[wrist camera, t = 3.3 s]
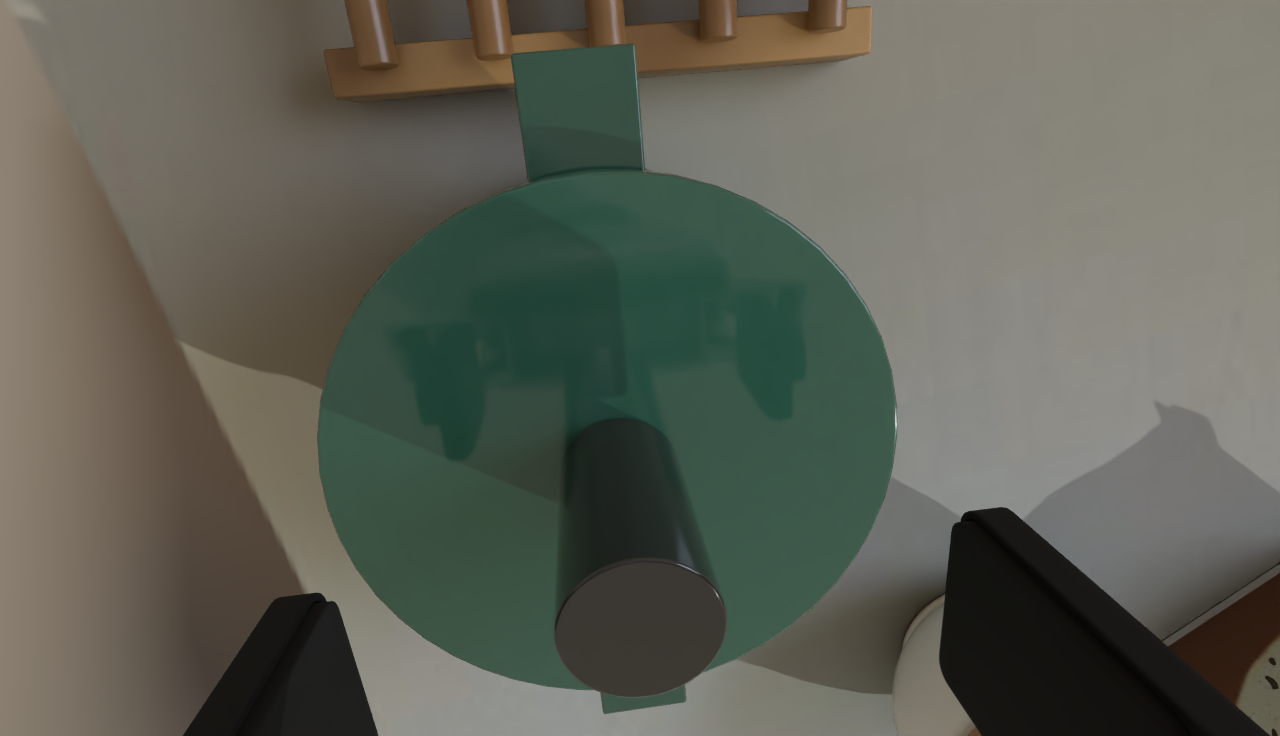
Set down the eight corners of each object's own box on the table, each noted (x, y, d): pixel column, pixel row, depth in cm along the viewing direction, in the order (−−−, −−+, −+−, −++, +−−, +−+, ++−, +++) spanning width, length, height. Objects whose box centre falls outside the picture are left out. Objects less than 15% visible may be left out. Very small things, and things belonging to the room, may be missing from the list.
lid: (403, 685, 17) (318, 961, 11) (264, 198, 12) (8, 252, 7) (864, 620, 18) (999, 847, 12) (889, 140, 13) (1122, 144, 8)
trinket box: (1038, 496, 27) (1267, 674, 18) (1105, 657, 30) (1322, 870, 21) (813, 617, 28) (925, 842, 19) (904, 759, 31) (1033, 1002, 23)
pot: (478, 563, 25) (434, 762, 17) (380, 96, 19) (241, 69, 11) (766, 525, 26) (852, 700, 18) (759, 64, 20) (884, 17, 12)
